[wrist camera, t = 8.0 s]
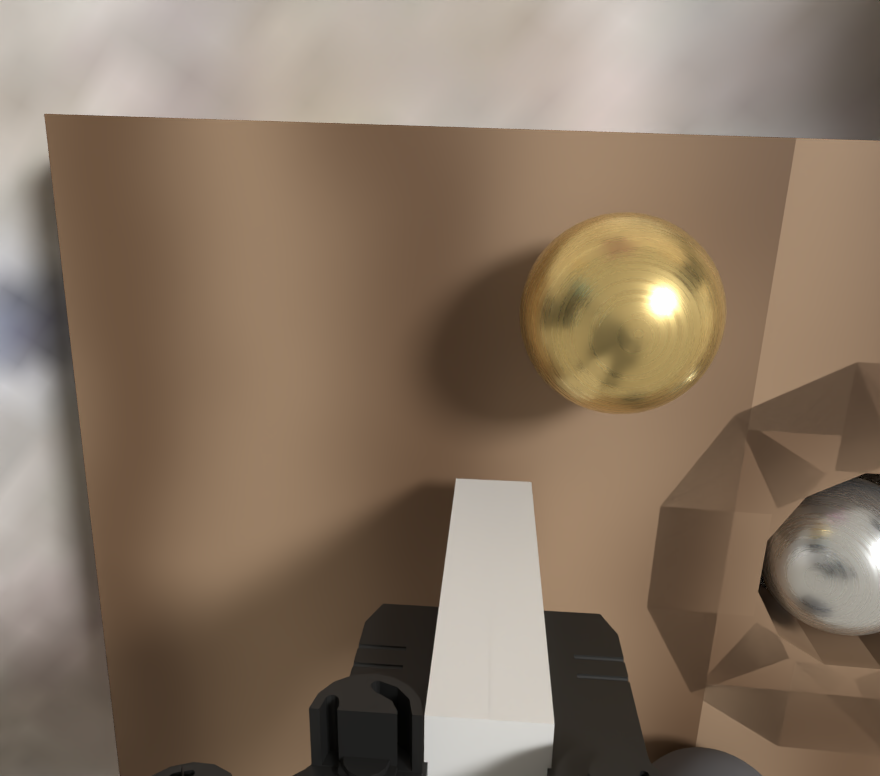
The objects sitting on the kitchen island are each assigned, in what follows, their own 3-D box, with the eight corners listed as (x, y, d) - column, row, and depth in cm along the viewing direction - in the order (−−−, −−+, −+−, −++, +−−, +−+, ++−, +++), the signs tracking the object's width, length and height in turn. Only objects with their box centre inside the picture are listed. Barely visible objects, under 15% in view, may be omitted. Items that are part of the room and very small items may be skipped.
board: (166, 739, 22) (123, 810, 19) (111, 121, 17) (44, 114, 14) (960, 821, 20) (1021, 911, 17) (1164, 155, 15) (1288, 153, 12)
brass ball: (513, 377, 15) (513, 436, 12) (524, 202, 14) (528, 214, 11) (686, 387, 15) (735, 451, 11) (711, 210, 14) (772, 225, 10)
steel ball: (775, 573, 19) (723, 623, 16) (794, 445, 18) (743, 477, 16) (931, 624, 17) (898, 691, 14) (961, 481, 16) (931, 525, 13)
